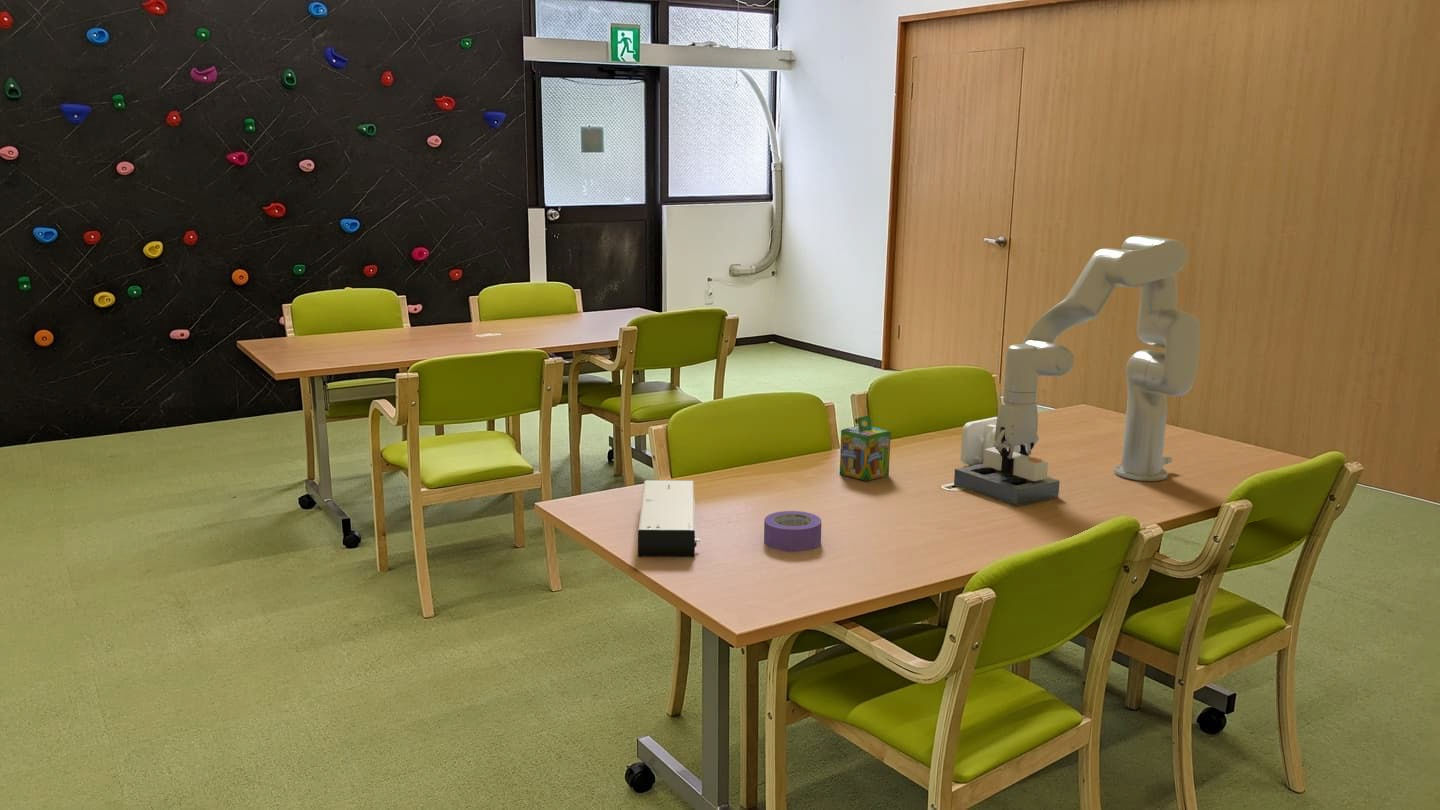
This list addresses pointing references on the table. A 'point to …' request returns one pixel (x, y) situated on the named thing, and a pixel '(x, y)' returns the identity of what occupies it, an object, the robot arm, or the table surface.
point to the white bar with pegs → (1018, 464)
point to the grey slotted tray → (1005, 485)
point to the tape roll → (792, 531)
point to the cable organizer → (978, 440)
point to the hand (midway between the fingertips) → (1014, 471)
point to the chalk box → (865, 451)
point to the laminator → (667, 519)
